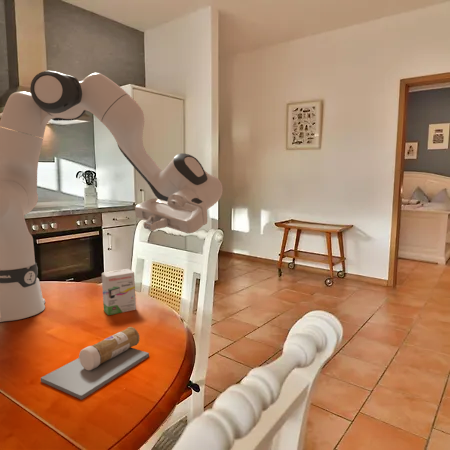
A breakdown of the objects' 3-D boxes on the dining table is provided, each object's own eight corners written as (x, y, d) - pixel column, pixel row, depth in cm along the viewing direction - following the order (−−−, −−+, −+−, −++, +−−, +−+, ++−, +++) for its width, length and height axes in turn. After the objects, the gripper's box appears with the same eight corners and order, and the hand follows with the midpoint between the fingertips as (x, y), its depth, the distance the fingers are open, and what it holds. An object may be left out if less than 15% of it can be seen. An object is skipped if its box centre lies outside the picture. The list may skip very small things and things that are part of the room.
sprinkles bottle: (136, 324, 85) (88, 347, 73) (143, 343, 84) (96, 369, 73) (123, 328, 87) (75, 351, 76) (130, 347, 87) (82, 372, 75)
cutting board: (110, 344, 88) (110, 341, 88) (149, 356, 82) (148, 353, 82) (40, 381, 72) (40, 377, 72) (81, 399, 66) (81, 395, 66)
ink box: (107, 316, 105) (105, 276, 104) (103, 310, 109) (101, 272, 108) (136, 309, 110) (134, 271, 108) (131, 304, 114) (129, 268, 112)
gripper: (154, 189, 107) (117, 207, 97) (210, 203, 96) (176, 225, 87) (157, 209, 110) (122, 228, 100) (212, 224, 99) (178, 248, 90)
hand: (147, 227), depth 93 cm, fingers closed
